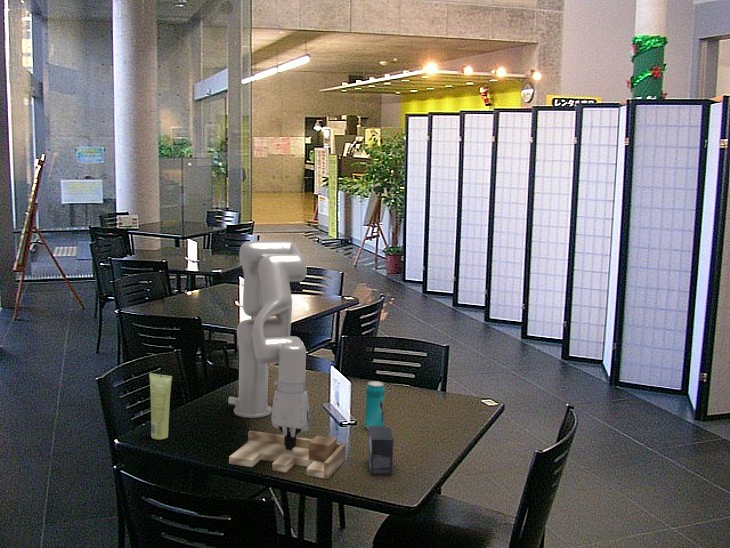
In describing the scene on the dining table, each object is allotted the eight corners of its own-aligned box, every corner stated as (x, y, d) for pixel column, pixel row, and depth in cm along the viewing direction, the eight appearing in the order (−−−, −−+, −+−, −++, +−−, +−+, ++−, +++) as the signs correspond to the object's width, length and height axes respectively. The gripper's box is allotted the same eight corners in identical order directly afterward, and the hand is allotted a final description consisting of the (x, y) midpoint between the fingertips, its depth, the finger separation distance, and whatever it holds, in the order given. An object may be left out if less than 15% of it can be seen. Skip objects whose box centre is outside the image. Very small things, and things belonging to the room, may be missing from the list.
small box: (366, 460, 233) (367, 425, 232) (388, 460, 234) (390, 425, 232) (369, 475, 223) (371, 438, 221) (393, 475, 223) (394, 438, 222)
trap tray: (227, 463, 227) (227, 447, 226) (249, 444, 242) (249, 430, 241) (328, 479, 219) (328, 463, 218) (345, 459, 233) (345, 444, 233)
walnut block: (308, 459, 227) (308, 442, 226) (316, 452, 232) (317, 435, 232) (328, 462, 225) (329, 445, 224) (336, 455, 231) (336, 438, 230)
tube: (168, 433, 249) (168, 371, 246) (171, 438, 244) (172, 375, 241) (149, 435, 246) (149, 373, 243) (152, 441, 242) (152, 377, 239)
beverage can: (381, 432, 256) (383, 386, 254) (363, 430, 257) (365, 385, 255) (384, 426, 262) (386, 381, 260) (367, 424, 263) (368, 380, 261)
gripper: (261, 387, 228) (260, 449, 231) (312, 393, 224) (310, 456, 227) (271, 380, 235) (270, 440, 238) (321, 386, 231) (319, 447, 234)
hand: (290, 448), depth 232 cm, fingers closed
